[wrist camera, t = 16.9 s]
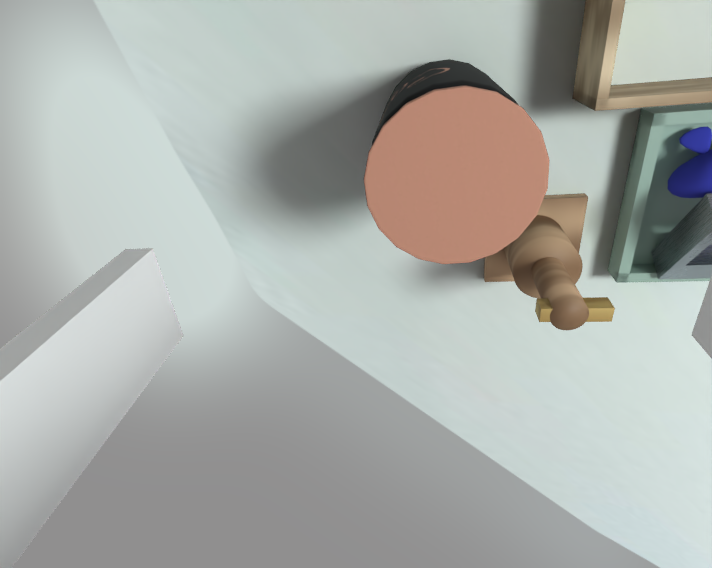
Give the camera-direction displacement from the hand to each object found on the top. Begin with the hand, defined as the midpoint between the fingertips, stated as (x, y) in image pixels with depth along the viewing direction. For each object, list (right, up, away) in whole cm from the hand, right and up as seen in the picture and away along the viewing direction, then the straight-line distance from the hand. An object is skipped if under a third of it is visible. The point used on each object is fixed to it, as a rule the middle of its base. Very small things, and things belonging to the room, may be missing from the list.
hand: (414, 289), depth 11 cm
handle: (+16, +5, +35) cm, 39 cm away
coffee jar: (+6, +15, +31) cm, 35 cm away
